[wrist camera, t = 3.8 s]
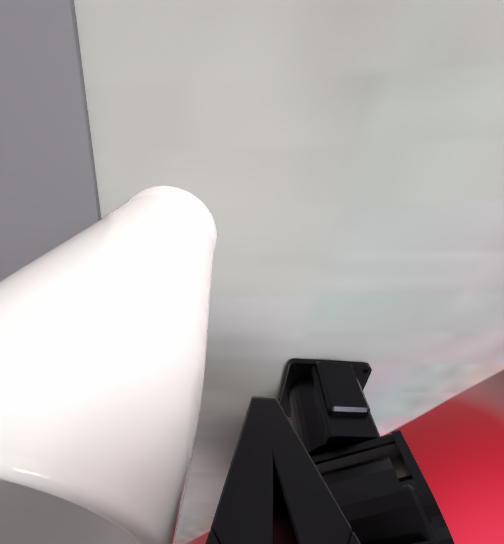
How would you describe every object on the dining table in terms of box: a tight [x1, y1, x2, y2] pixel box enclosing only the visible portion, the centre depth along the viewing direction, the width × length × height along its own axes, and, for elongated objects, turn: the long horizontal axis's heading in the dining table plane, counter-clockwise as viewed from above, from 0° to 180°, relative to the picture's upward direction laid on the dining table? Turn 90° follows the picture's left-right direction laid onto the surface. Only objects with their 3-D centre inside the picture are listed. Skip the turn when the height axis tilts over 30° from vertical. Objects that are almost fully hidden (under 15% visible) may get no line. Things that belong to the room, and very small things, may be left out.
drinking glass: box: [0, 186, 217, 544], centre depth 12 cm, size 7×7×15 cm
